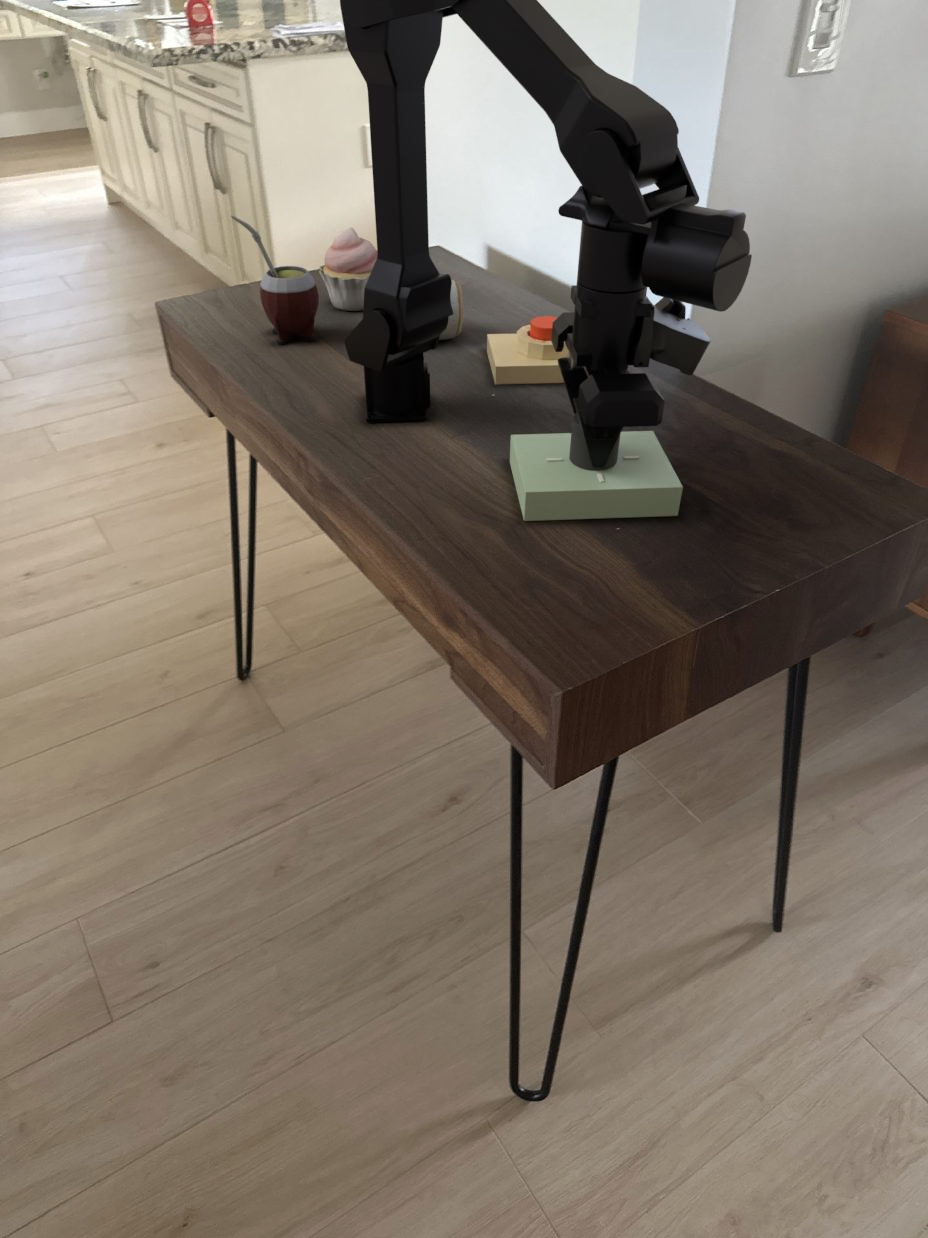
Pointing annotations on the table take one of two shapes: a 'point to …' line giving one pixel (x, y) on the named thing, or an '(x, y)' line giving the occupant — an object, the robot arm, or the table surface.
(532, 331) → the power button
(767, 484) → the table surface
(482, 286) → the table surface
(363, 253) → the cupcake
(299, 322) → the mate gourd
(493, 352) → the beige button base
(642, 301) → the robot arm
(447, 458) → the table surface
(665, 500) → the panel
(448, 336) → the ceramic mug
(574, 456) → the timer knob
